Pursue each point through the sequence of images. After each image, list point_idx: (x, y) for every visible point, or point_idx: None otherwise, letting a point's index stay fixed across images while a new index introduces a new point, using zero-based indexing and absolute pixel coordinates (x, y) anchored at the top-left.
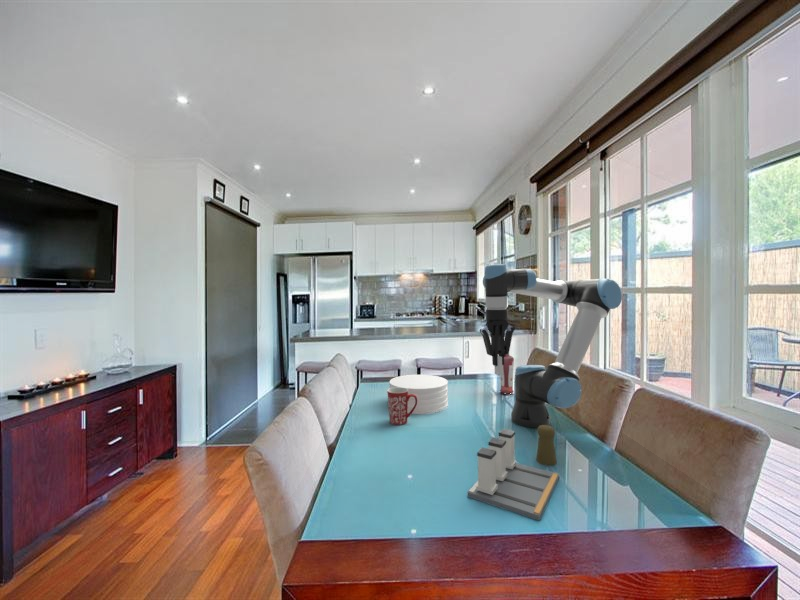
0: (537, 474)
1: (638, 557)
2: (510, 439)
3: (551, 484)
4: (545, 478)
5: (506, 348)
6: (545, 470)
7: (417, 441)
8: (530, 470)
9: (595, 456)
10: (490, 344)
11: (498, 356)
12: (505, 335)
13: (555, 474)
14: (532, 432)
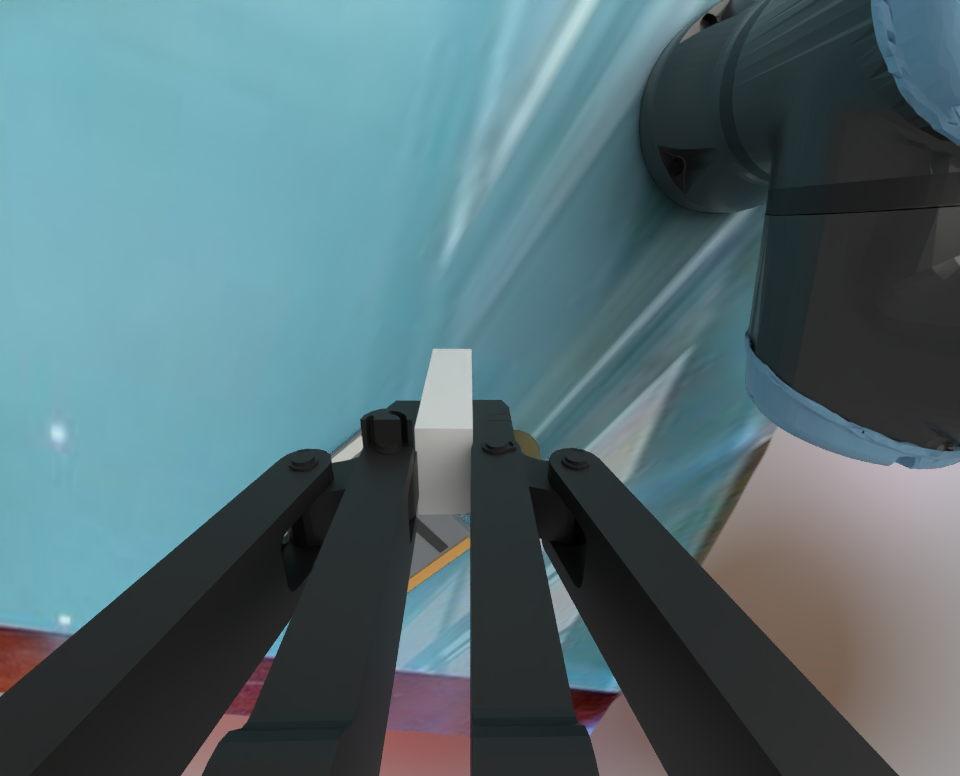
0: (422, 534)
1: (430, 717)
2: None
3: (424, 577)
4: (430, 550)
5: (566, 585)
6: (457, 521)
7: (98, 174)
8: (417, 512)
9: (665, 467)
10: (227, 691)
11: (446, 479)
12: (746, 744)
13: (465, 545)
14: (633, 246)
